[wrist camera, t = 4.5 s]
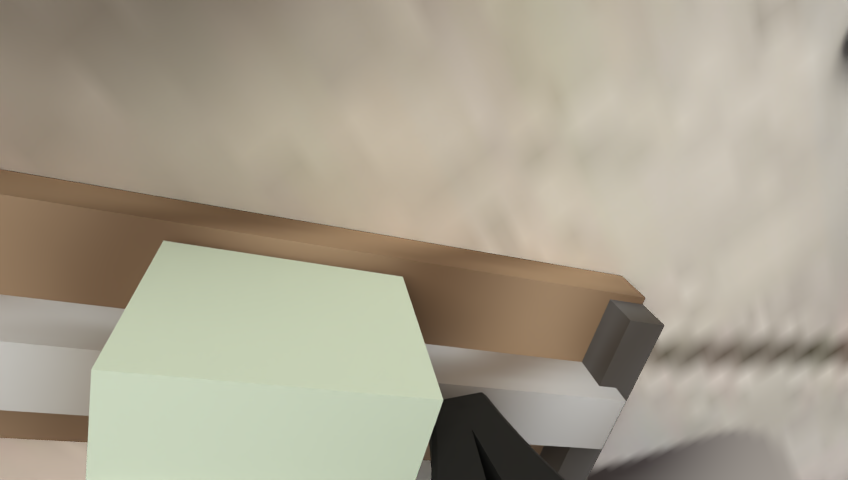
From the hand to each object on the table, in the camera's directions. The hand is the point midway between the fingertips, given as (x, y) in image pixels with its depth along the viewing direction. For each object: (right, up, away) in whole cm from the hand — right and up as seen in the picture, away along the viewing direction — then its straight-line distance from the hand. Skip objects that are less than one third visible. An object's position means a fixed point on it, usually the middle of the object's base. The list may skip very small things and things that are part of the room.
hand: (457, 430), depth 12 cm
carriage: (-4, +1, 0) cm, 5 cm away
